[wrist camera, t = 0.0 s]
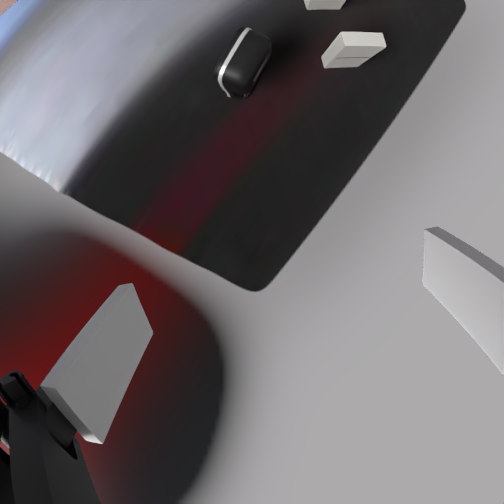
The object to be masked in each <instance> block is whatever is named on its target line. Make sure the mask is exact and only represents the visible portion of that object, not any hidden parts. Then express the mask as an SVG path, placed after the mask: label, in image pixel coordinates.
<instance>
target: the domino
mask: <svg viewBox="0 0 504 504" xmlns="http://www.w3.org/2000/svg"><path fill="white" fill-rule="evenodd" d="M345 1H346V0H304V3H305V5H306V8H307V10H318V9H341V7H342V6H343V4H344V3H345Z"/></svg>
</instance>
